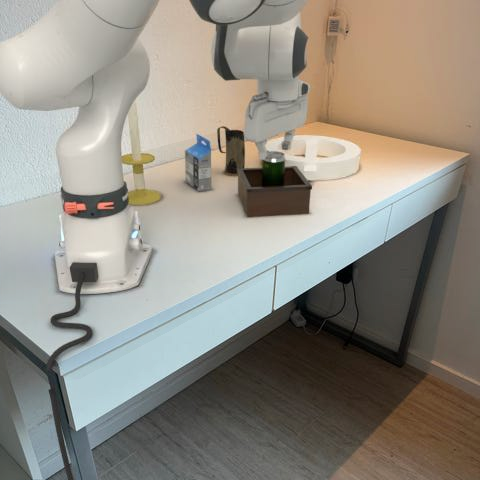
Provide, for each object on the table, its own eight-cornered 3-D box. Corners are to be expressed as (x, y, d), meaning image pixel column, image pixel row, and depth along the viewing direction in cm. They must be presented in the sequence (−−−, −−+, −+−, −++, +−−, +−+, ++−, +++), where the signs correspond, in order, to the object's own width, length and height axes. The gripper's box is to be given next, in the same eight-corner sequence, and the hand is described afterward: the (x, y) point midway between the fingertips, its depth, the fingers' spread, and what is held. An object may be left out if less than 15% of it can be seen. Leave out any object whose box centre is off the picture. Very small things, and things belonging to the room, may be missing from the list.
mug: (248, 171, 148) (248, 127, 141) (239, 177, 144) (239, 132, 137) (223, 167, 151) (223, 124, 144) (214, 172, 147) (213, 128, 140)
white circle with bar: (311, 145, 170) (312, 130, 167) (378, 167, 152) (381, 150, 149) (243, 161, 156) (243, 145, 153) (308, 187, 137) (310, 169, 135)
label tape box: (185, 181, 140) (182, 134, 134) (198, 179, 142) (197, 132, 135) (198, 192, 134) (196, 143, 127) (212, 189, 136) (211, 141, 129)
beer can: (272, 209, 124) (275, 159, 117) (256, 203, 127) (257, 154, 121) (287, 204, 127) (290, 154, 121) (271, 198, 130) (273, 149, 124)
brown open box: (309, 214, 122) (312, 186, 118) (246, 217, 120) (246, 189, 116) (294, 191, 134) (296, 166, 131) (237, 194, 132) (237, 168, 129)
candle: (112, 197, 130) (96, 80, 115) (145, 188, 136) (134, 74, 121) (136, 208, 124) (123, 85, 109) (169, 197, 130) (161, 80, 115)
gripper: (262, 98, 104) (260, 167, 112) (314, 84, 118) (309, 146, 126) (236, 94, 107) (236, 162, 115) (290, 81, 121) (287, 142, 129)
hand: (275, 153), depth 120 cm, fingers open, 8 cm apart
